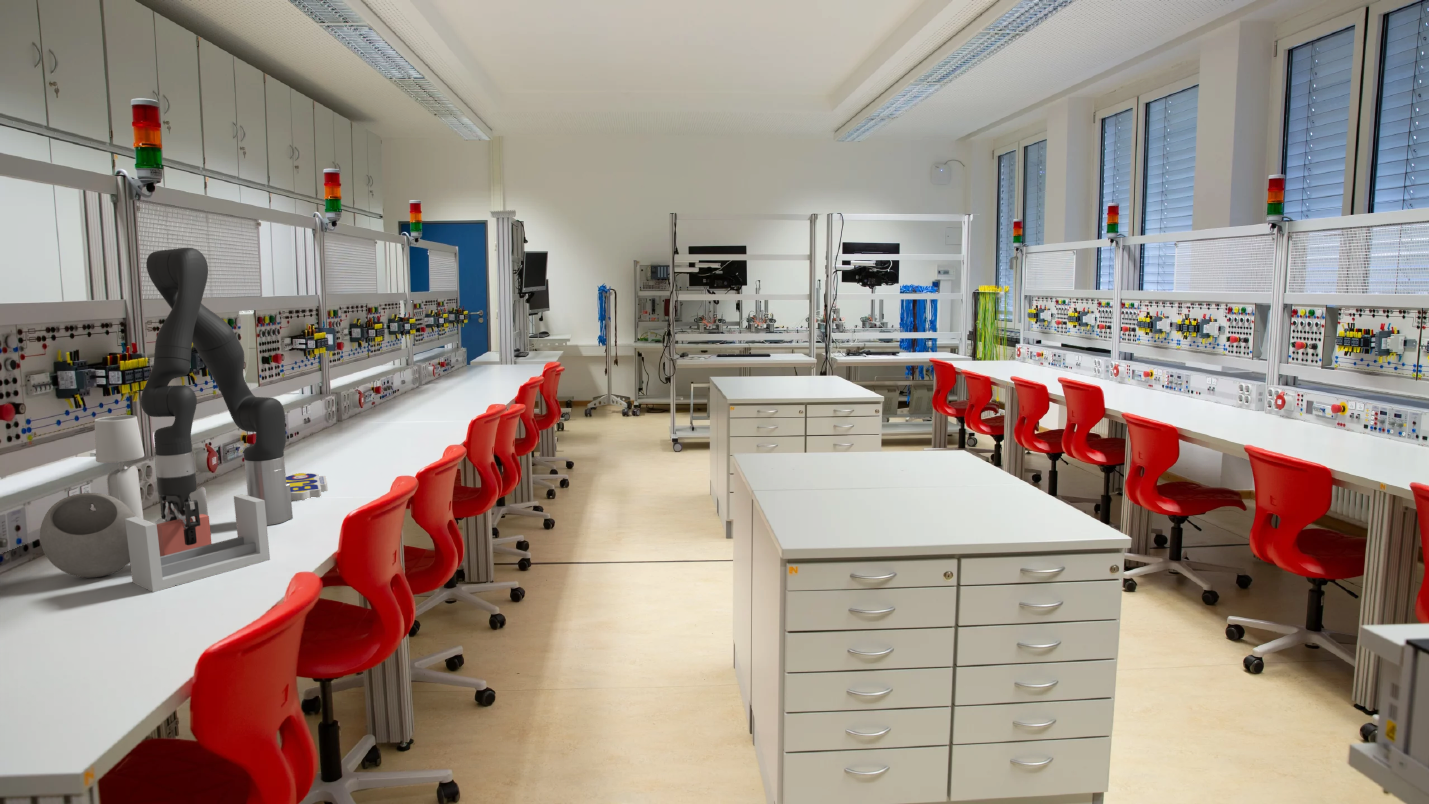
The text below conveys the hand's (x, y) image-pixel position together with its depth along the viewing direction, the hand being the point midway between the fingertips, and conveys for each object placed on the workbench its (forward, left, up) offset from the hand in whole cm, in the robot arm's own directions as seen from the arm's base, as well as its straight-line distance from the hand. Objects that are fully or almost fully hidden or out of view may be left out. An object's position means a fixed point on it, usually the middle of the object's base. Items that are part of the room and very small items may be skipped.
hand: (182, 541), depth 193 cm
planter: (+17, -2, -4) cm, 17 cm away
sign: (-47, -40, -5) cm, 62 cm away
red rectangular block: (0, 0, -4) cm, 4 cm away
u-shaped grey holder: (+2, +13, -4) cm, 14 cm away
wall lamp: (-4, -27, -4) cm, 28 cm away
